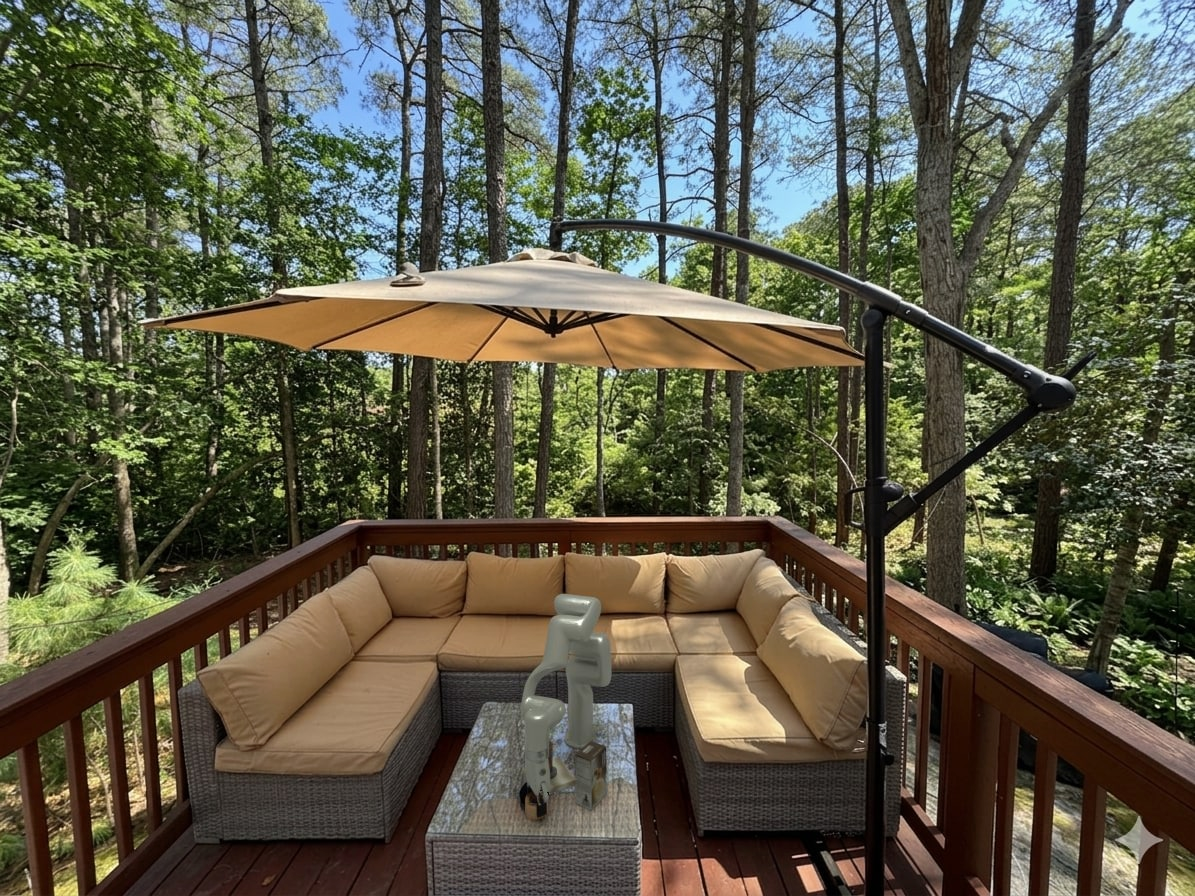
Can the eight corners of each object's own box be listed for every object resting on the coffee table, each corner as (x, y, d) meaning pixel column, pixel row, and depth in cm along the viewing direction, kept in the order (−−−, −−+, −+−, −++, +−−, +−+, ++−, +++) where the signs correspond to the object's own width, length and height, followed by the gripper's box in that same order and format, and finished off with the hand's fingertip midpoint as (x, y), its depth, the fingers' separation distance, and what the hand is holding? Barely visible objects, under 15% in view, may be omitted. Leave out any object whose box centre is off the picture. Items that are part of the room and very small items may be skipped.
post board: (559, 762, 185) (559, 725, 185) (576, 785, 173) (576, 746, 173) (521, 774, 179) (521, 735, 178) (536, 799, 166) (537, 758, 166)
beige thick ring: (543, 800, 166) (543, 788, 166) (551, 814, 160) (551, 801, 160) (522, 807, 162) (522, 795, 162) (530, 822, 156) (530, 809, 156)
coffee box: (590, 787, 172) (590, 739, 172) (607, 794, 169) (607, 745, 168) (574, 803, 164) (575, 753, 164) (591, 811, 161) (592, 760, 161)
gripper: (559, 762, 155) (559, 821, 155) (537, 733, 170) (537, 786, 170) (535, 770, 151) (535, 830, 152) (515, 739, 167) (515, 794, 167)
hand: (536, 806), depth 161 cm, fingers closed on beige thick ring, 7 cm apart
